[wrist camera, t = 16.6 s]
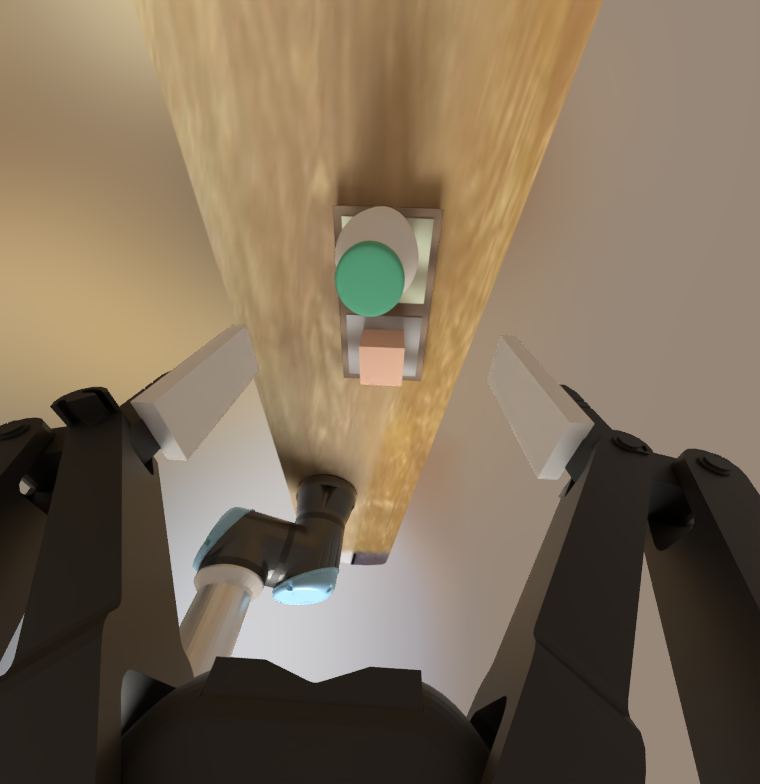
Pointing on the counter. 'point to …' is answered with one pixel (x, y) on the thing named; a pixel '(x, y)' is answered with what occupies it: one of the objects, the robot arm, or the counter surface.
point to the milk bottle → (375, 260)
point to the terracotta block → (381, 357)
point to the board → (413, 301)
